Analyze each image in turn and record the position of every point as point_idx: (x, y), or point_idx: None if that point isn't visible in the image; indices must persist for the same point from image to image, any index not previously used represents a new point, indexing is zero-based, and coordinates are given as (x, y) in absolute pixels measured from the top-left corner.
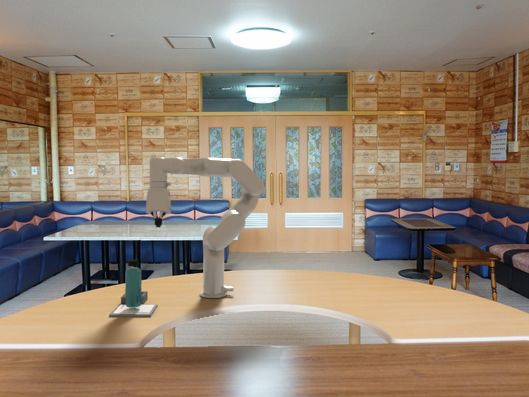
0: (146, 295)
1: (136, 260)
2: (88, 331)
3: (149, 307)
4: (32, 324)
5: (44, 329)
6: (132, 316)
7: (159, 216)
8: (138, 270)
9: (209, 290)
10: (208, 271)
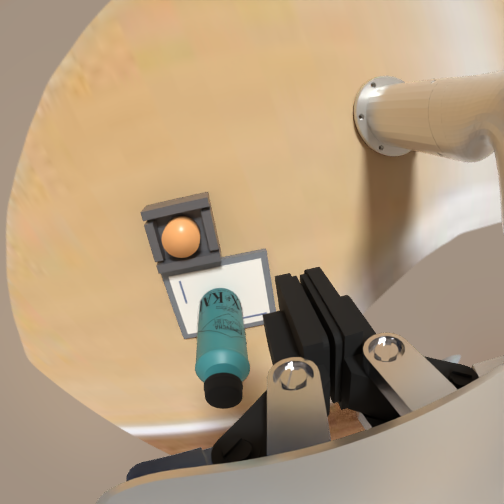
0: (210, 209)
1: (237, 397)
2: (195, 393)
3: (255, 281)
4: (85, 380)
5: (121, 394)
6: None
7: (362, 420)
8: (245, 376)
9: (395, 146)
10: (428, 152)
